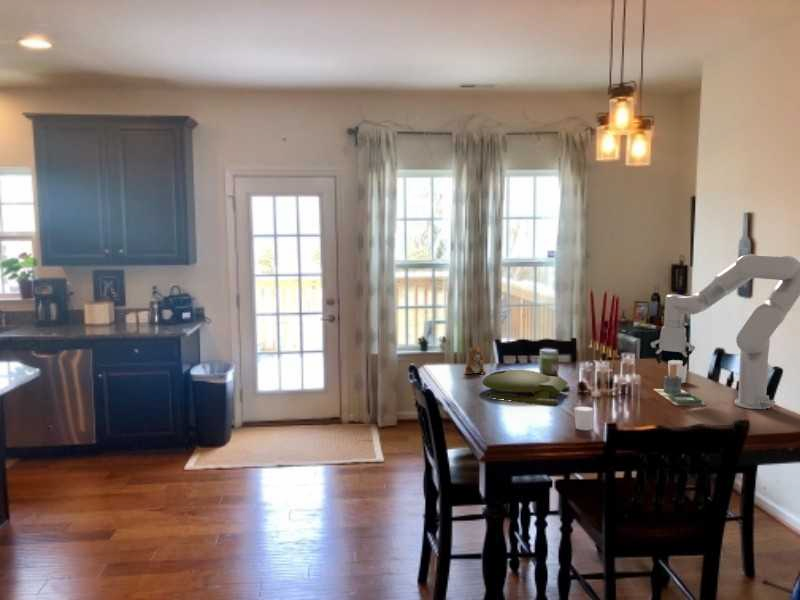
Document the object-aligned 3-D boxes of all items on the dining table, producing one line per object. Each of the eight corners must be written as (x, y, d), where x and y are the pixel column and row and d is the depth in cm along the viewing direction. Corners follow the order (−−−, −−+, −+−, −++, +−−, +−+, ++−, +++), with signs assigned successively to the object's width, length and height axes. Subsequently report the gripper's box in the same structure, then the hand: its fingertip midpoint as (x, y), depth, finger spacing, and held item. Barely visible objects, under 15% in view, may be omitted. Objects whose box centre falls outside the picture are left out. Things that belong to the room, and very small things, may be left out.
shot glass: (575, 430, 221) (575, 410, 220) (572, 424, 228) (573, 405, 227) (595, 431, 220) (595, 411, 219) (592, 425, 227) (593, 406, 226)
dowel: (677, 392, 267) (678, 364, 266) (672, 393, 266) (673, 365, 265) (671, 391, 270) (672, 363, 268) (667, 392, 268) (667, 364, 267)
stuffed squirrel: (466, 375, 310) (465, 349, 309) (464, 369, 324) (463, 344, 323) (486, 375, 310) (486, 349, 309) (483, 369, 324) (483, 344, 323)
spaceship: (570, 390, 280) (571, 368, 279) (557, 407, 252) (557, 383, 252) (494, 383, 295) (494, 362, 294) (473, 399, 267) (472, 376, 266)
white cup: (683, 381, 291) (683, 360, 290) (689, 385, 283) (689, 363, 282) (665, 381, 292) (665, 360, 291) (670, 385, 284) (671, 363, 283)
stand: (706, 407, 248) (707, 388, 247) (675, 407, 248) (675, 388, 248) (681, 391, 273) (681, 374, 273) (652, 391, 274) (653, 374, 273)
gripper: (697, 324, 263) (695, 365, 265) (653, 321, 273) (651, 360, 275) (694, 327, 257) (692, 368, 259) (649, 323, 267) (647, 363, 269)
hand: (671, 364), depth 267 cm, fingers open, 9 cm apart
